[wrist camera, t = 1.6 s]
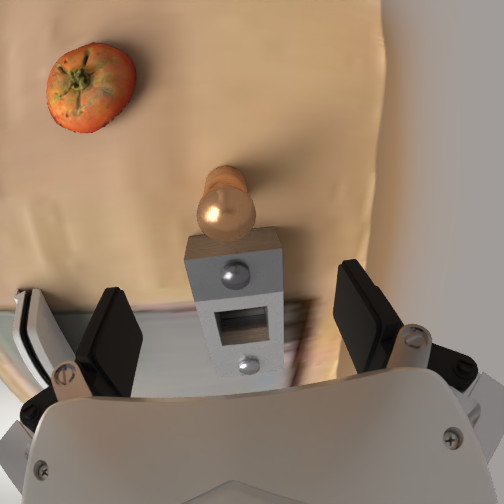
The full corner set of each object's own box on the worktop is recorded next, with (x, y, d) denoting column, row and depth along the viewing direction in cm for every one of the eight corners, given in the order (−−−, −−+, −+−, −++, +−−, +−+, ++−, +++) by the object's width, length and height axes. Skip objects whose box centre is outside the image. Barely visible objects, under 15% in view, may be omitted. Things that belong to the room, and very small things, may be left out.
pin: (200, 166, 23) (192, 192, 17) (245, 161, 23) (253, 185, 17) (206, 208, 25) (201, 245, 19) (249, 202, 25) (257, 238, 19)
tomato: (152, 113, 18) (63, 131, 13) (115, 132, 23) (46, 152, 18) (140, 28, 15) (56, 31, 10) (105, 60, 20) (37, 71, 15)
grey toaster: (15, 287, 27) (-2, 340, 19) (41, 280, 28) (28, 334, 21) (60, 366, 35) (61, 416, 28) (84, 361, 37) (88, 413, 29)
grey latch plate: (188, 236, 26) (182, 264, 22) (274, 226, 26) (283, 252, 22) (217, 352, 35) (217, 381, 31) (278, 345, 35) (284, 373, 31)
